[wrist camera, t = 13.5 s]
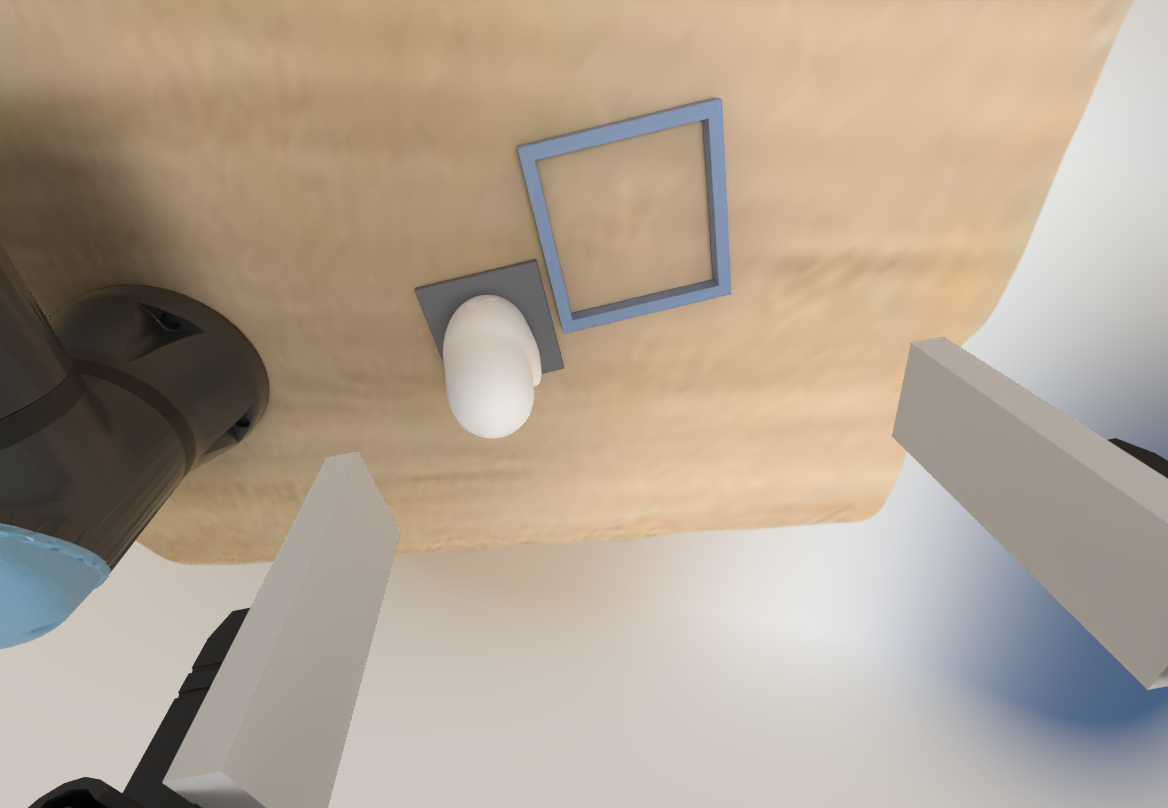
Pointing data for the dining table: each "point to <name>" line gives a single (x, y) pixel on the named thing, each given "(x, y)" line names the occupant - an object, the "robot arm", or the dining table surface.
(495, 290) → the mat
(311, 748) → the robot arm
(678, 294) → the cradle
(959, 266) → the dining table surface
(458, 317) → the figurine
